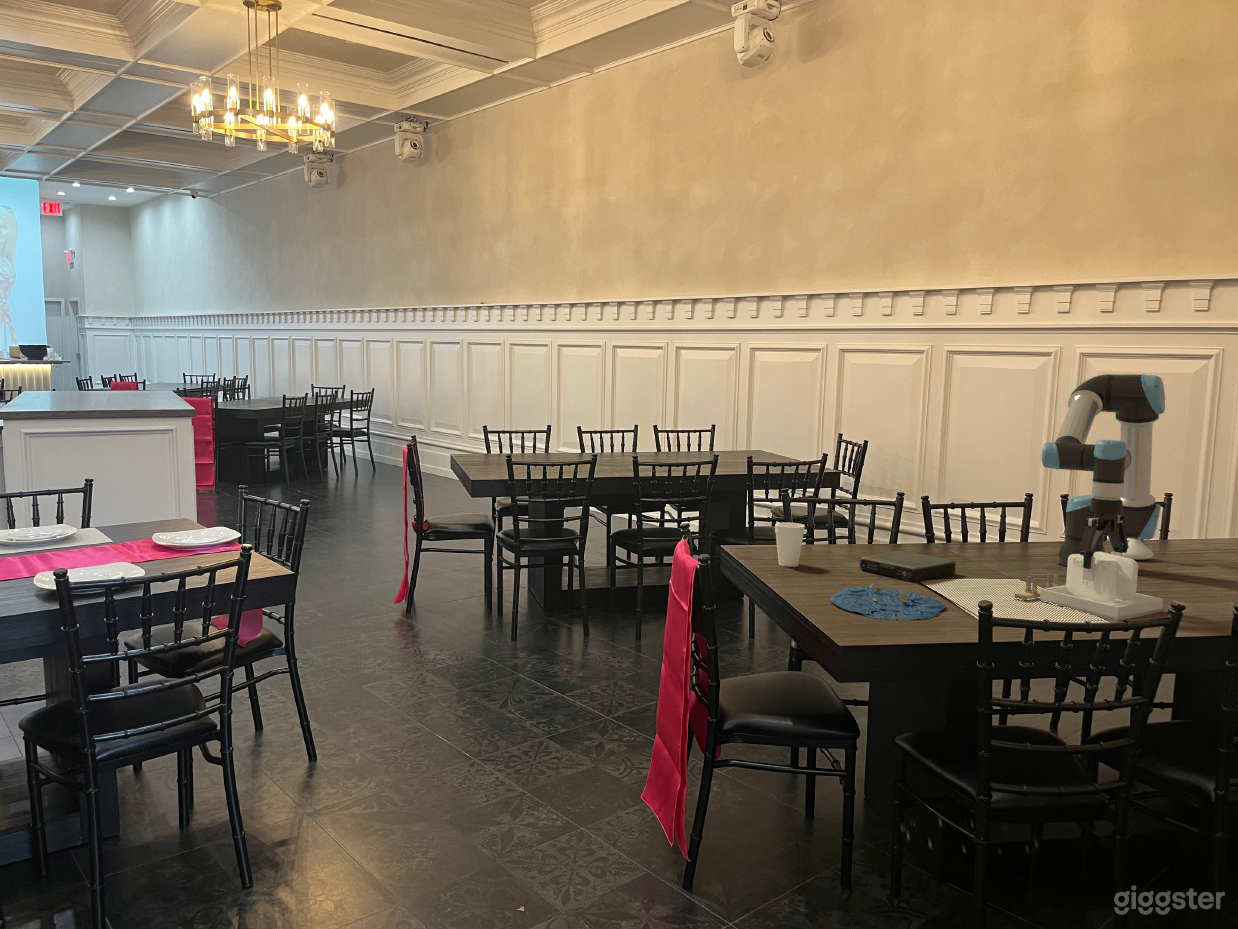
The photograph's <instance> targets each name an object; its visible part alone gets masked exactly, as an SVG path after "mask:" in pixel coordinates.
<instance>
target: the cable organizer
mask: <svg viewBox="0 0 1238 929" xmlns="http://www.w3.org/2000/svg"><path fill="white" fill-rule="evenodd" d="M1093 557H1095V569H1094V581H1087V580H1083V579H1082V578H1083V559H1084V556H1083V555H1080V554H1072V555H1070V556H1069V557H1068V566H1066V567H1067V570H1066V574H1067V582H1066V581H1065V584H1066V587H1067V589H1068V591H1069V592H1070V593H1072V594H1074V595H1075V596H1078V597H1081V598H1085V597H1086V598H1089V599H1092V600H1093V601H1097V602H1101V603H1110V602H1113V601H1114V600H1115V598H1116V599H1119V600H1122V601H1127V600H1132V599H1134V598H1135V597H1136V593H1137V590H1138V589H1137V585H1138V572H1139V564H1138V562H1137V561H1136V559H1130V558H1126V557H1122V556H1117V555H1113V554H1111V553H1108V552H1106V553H1105V552H1095V553H1094V555H1093Z"/></svg>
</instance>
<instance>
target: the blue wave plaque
mask: <svg viewBox="0 0 1238 929" xmlns="http://www.w3.org/2000/svg"><path fill="white" fill-rule="evenodd" d="M829 600H830V602H831V603H832V604H833V605H835V606H836V607H839V608H840V609H843V610H845V611H848V612H857V613H859V614H862V615H863V616H865V617H868V618H870V619H882V620H883V619H884V620H892V621H893V620H895V621H897V620H901V621H902V620H904V621H913V620H917V619H919V620H923V619H925V620H927V619H932V618H933V617H935V616H938V617H939V616H940V615H941V614H942V613H941V611H942V610H944V609H945V607H946V605H945V604H944V603H943V602H941V601H940V600H938V599H937V598H933V597H932V598H931V597H929V596H927V595H920V594H917V593H911V592H909V591H902V590H900V589H898V590H892V589H886V588H884V587H880V586H878V585H876V584H874V583H870V584H869V586H858V587H848V588H844V589H843V590H840V591H837V593H835V594H834V595H833V596H831V597H830V599H829ZM896 615H897V616H898V617H897V616H896Z"/></svg>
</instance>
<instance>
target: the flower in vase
mask: <svg viewBox="0 0 1238 929" xmlns="http://www.w3.org/2000/svg"><path fill="white" fill-rule="evenodd" d="M1141 540H1142V539H1138V540H1136V539H1130V540H1129V541H1128V549H1127V553H1122V557H1126V558H1130V559H1133V560H1143V561H1144V560H1150V559H1153V558H1154V557H1155V555H1154V552H1153V551H1152V550H1151V549H1150V548H1149V547H1148V546H1146V544H1144V543H1143V542H1142V541H1141Z"/></svg>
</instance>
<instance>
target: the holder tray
mask: <svg viewBox="0 0 1238 929" xmlns="http://www.w3.org/2000/svg"><path fill="white" fill-rule="evenodd" d="M1039 590H1040V599H1039V601H1040V600H1042V601H1048V602H1051V603H1053V604H1058V605H1060V606H1063V607H1068V608H1071V609H1074V610H1073V611H1075V610H1078V611H1077V612H1079V611H1082V612H1081V613H1083V612H1085V613H1084V614H1087V613H1089V614H1088V615H1091V616H1096V617H1100V618H1102V619H1103V618H1104V619H1107V620H1110V621H1111V620H1112V621H1115V622H1120V621H1123V620H1128V619H1133V618H1138V617H1142V616H1147V615H1148V616H1149V615H1152V614H1153V615H1154V614H1157V613H1161V612H1163V605H1164V604H1163V603H1164V598H1161V597H1156V596H1152V595H1147V594H1143V593H1138V592H1136V597H1135V598H1134V599H1132V600H1127V601H1122V600H1119V599H1116V598H1115V600H1114V601H1113V602H1110V603H1101V602H1097V601H1093V600H1092V599H1089V598H1086V597H1085V598H1081V597H1078V596H1075V595H1074V594H1072V593H1070V592H1069V591H1068V589H1067V587H1066V585H1065V584H1064V585H1063V584H1062V585H1058V586H1056V587H1053V586H1051V587H1050V588H1045V587H1044V588H1040V589H1039ZM1060 606H1059V607H1060ZM1063 607H1062V608H1063ZM1071 609H1070V610H1071Z"/></svg>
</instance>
